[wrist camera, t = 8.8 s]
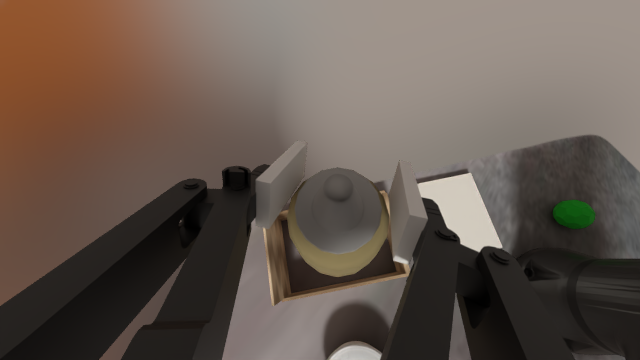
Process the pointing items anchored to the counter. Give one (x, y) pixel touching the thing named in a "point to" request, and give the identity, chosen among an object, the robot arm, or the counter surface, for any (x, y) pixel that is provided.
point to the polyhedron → (574, 214)
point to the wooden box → (283, 291)
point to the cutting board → (462, 210)
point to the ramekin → (355, 352)
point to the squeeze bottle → (338, 221)
